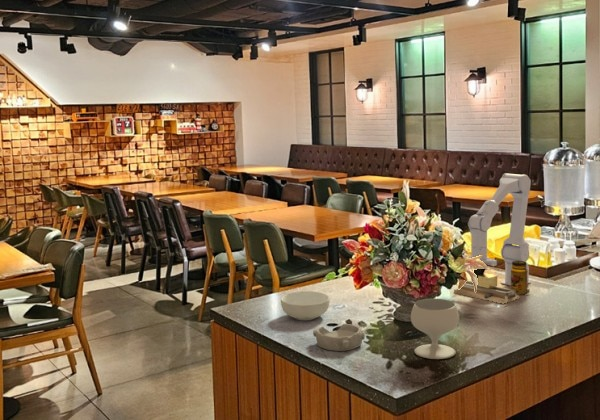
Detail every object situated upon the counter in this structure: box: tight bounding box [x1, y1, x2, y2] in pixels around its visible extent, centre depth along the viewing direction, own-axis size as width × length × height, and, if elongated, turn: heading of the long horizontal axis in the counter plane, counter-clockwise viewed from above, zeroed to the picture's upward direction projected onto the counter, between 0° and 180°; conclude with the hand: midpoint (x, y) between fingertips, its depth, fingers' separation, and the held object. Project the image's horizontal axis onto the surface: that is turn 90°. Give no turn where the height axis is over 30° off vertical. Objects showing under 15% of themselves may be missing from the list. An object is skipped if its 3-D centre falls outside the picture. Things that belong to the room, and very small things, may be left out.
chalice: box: [410, 298, 460, 360], centre depth 208 cm, size 14×14×15 cm
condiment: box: [510, 261, 531, 296], centre depth 270 cm, size 7×8×12 cm
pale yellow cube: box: [478, 272, 498, 289], centre depth 266 cm, size 5×5×5 cm
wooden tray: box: [453, 279, 520, 305], centre depth 267 cm, size 12×22×4 cm, turn 40°
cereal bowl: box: [280, 290, 330, 321], centre depth 247 cm, size 17×17×7 cm
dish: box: [312, 323, 366, 352], centre depth 218 cm, size 14×14×5 cm
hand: (478, 281), depth 269 cm, fingers closed
